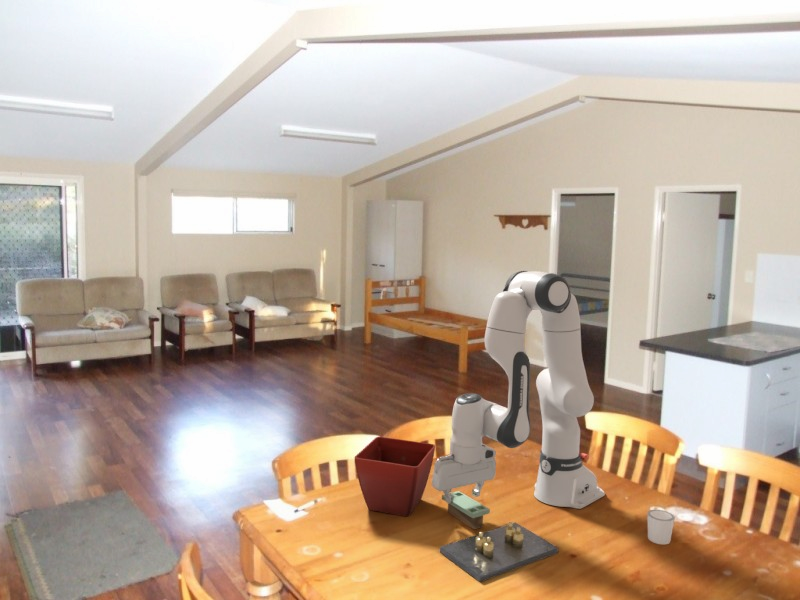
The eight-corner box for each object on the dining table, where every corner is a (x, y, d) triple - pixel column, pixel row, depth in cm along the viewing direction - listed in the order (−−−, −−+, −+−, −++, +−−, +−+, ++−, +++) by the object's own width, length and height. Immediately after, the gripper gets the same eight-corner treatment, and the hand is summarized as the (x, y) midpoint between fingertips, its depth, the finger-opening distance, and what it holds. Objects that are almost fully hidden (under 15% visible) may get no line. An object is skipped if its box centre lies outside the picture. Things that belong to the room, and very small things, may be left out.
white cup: (672, 535, 182) (674, 511, 181) (673, 547, 175) (675, 522, 174) (645, 531, 184) (647, 507, 183) (645, 542, 178) (647, 518, 177)
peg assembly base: (515, 527, 185) (516, 506, 184) (558, 552, 171) (559, 530, 170) (439, 552, 170) (440, 529, 170) (479, 582, 157) (480, 557, 156)
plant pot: (416, 524, 185) (417, 466, 183) (352, 513, 191) (353, 457, 189) (434, 497, 203) (436, 444, 201) (376, 487, 209) (377, 436, 207)
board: (442, 499, 192) (442, 495, 192) (458, 494, 196) (458, 490, 196) (472, 518, 181) (472, 514, 181) (489, 513, 184) (489, 509, 184)
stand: (456, 510, 195) (456, 497, 194) (482, 526, 185) (483, 513, 184) (447, 512, 193) (448, 499, 192) (474, 529, 183) (474, 515, 182)
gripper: (442, 462, 178) (439, 511, 180) (500, 450, 189) (497, 496, 191) (428, 454, 183) (426, 502, 185) (486, 443, 194) (483, 488, 196)
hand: (462, 499), depth 188 cm, fingers open, 8 cm apart
